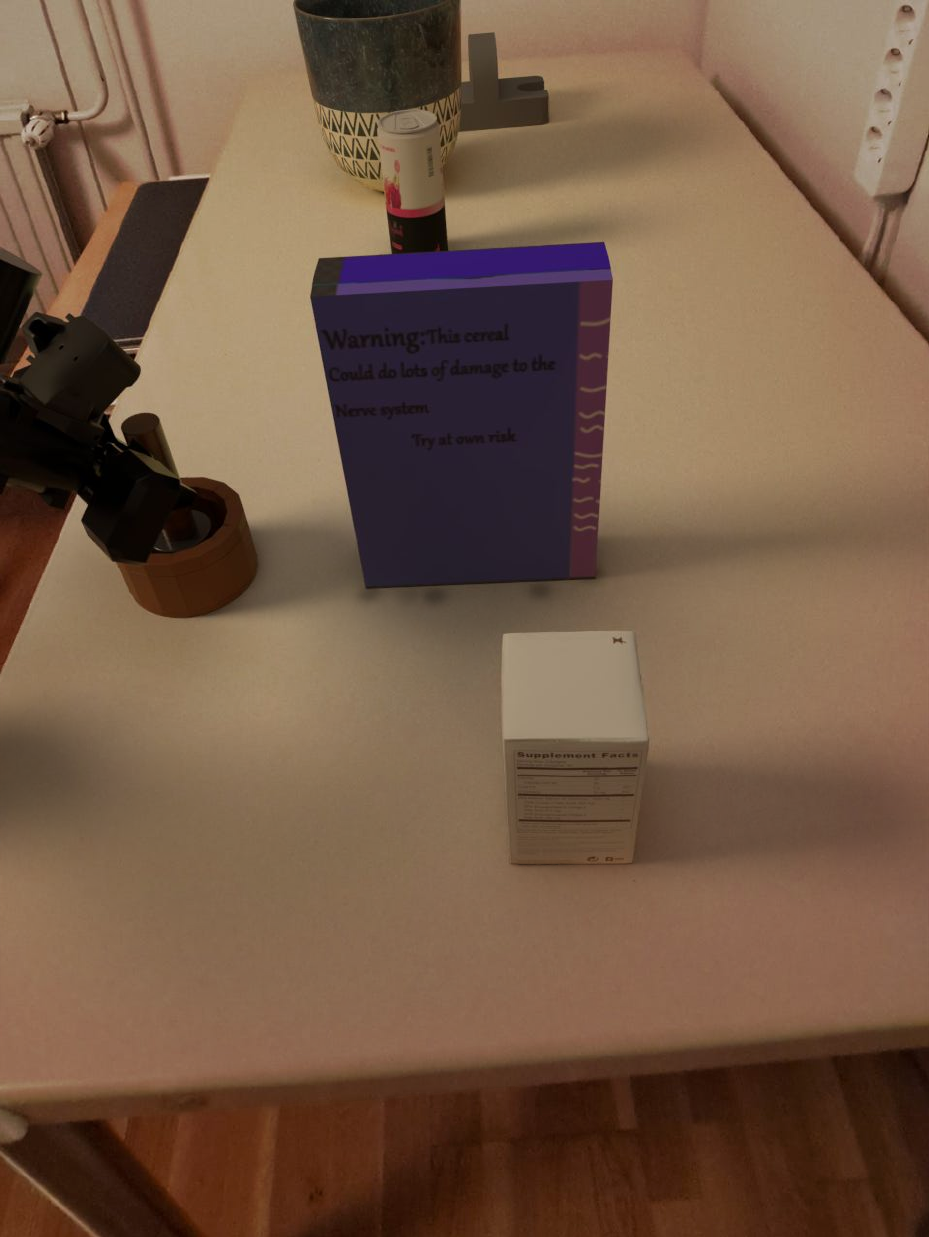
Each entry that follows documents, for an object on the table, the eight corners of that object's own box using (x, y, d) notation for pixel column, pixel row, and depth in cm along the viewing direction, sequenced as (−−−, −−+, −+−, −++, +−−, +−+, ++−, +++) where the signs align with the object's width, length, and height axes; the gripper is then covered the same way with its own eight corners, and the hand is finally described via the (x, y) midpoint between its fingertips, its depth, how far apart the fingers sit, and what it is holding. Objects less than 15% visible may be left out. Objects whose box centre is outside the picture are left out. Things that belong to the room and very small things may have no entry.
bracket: (549, 123, 136) (549, 39, 128) (425, 134, 136) (418, 50, 128) (541, 101, 142) (541, 19, 135) (423, 111, 142) (417, 30, 135)
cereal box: (589, 536, 74) (604, 238, 57) (595, 578, 71) (613, 276, 53) (370, 546, 75) (318, 255, 57) (365, 588, 71) (309, 292, 54)
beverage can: (396, 275, 106) (380, 134, 95) (388, 250, 111) (372, 113, 100) (453, 266, 107) (443, 126, 96) (443, 242, 111) (432, 105, 100)
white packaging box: (506, 762, 60) (501, 627, 51) (624, 762, 59) (639, 625, 50) (505, 867, 55) (499, 739, 45) (634, 868, 54) (653, 738, 45)
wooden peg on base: (210, 587, 71) (160, 445, 61) (151, 583, 71) (92, 443, 62) (230, 544, 74) (185, 404, 65) (173, 541, 75) (120, 402, 65)
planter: (447, 219, 116) (433, 19, 100) (301, 210, 120) (266, 18, 104) (486, 157, 128) (478, -28, 113) (353, 152, 133) (328, -28, 117)
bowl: (138, 633, 70) (113, 580, 66) (124, 550, 76) (101, 497, 72) (269, 595, 72) (253, 541, 68) (245, 517, 78) (229, 464, 74)
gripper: (97, 361, 49) (306, 444, 62) (-37, 253, 59) (166, 344, 72) (15, 545, 51) (233, 588, 64) (-101, 411, 61) (107, 472, 74)
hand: (183, 489), depth 68 cm, fingers closed on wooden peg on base, 2 cm apart
